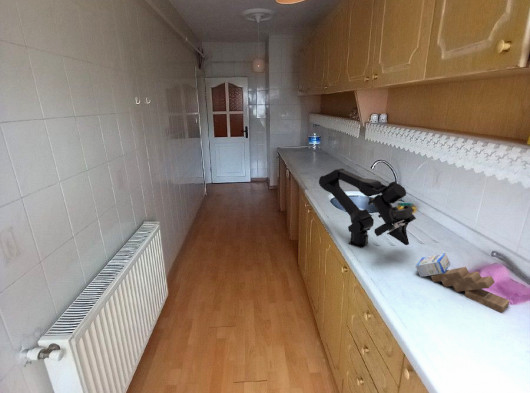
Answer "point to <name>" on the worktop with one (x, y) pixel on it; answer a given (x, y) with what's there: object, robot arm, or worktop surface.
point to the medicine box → (433, 265)
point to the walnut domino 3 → (476, 284)
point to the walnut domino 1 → (450, 274)
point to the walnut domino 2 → (463, 279)
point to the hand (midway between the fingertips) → (407, 244)
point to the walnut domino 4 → (488, 299)
